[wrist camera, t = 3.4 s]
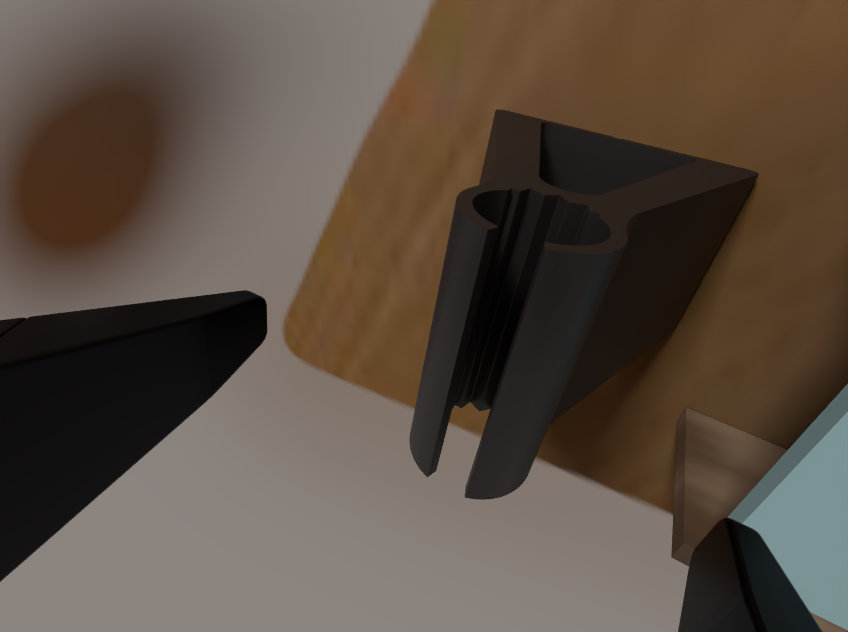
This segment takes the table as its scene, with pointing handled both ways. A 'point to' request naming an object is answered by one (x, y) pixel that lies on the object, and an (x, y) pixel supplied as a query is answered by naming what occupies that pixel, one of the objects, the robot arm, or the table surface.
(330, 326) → the table surface
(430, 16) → the table surface
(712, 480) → the trapdoor frame
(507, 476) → the phone stand
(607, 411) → the table surface
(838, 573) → the trapdoor
